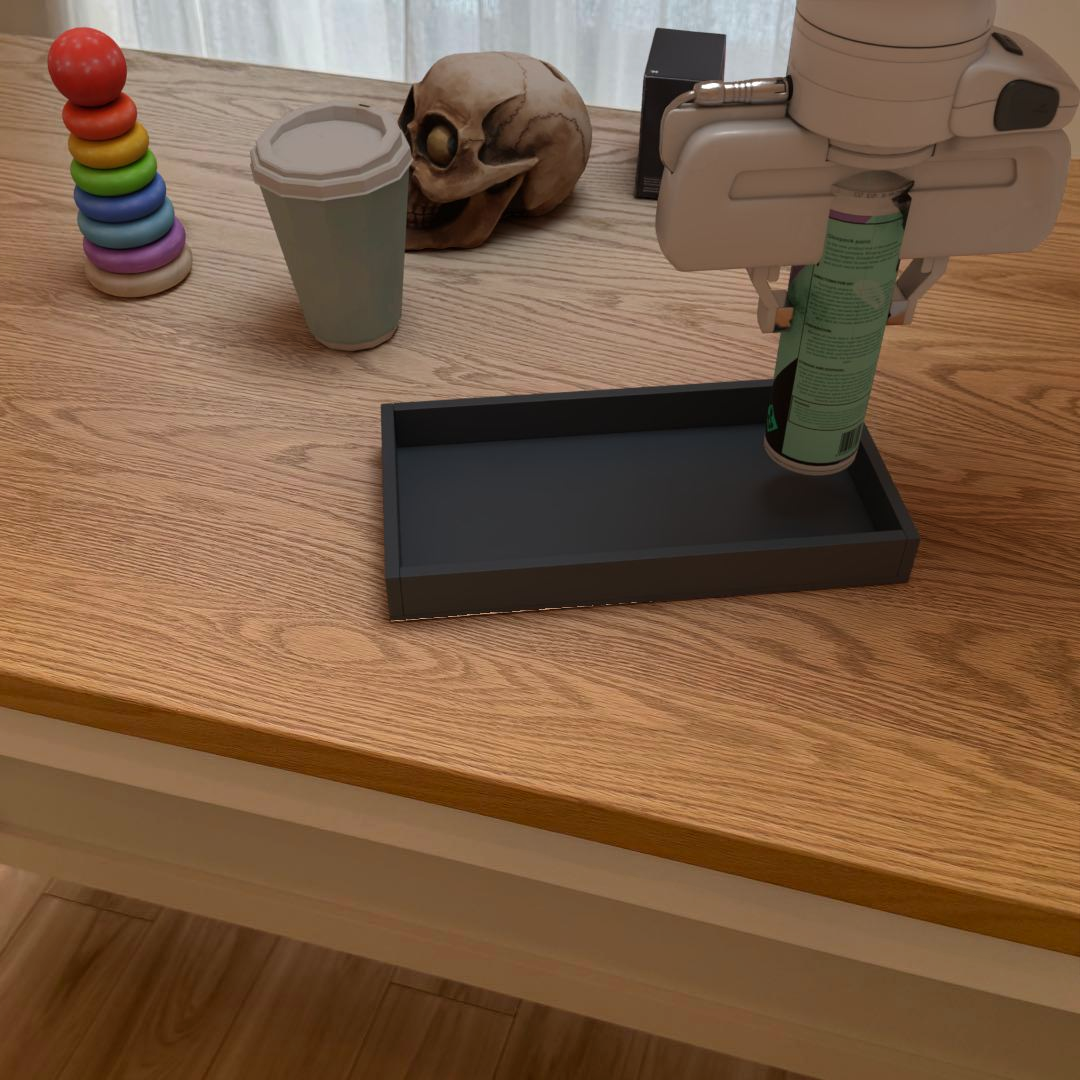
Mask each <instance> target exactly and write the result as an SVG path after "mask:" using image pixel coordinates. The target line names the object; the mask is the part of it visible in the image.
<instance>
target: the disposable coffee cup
mask: <svg viewBox="0 0 1080 1080" xmlns="http://www.w3.org/2000/svg"><path fill="white" fill-rule="evenodd" d="M397 121H398V120H397V119H396V116H395V114H394V113H393V112H392V111H389V110H387V109H384V108H382V107H380V106H377V105H375V104H371V103H368V102H367V103H366V102H363V101H362V102H361V101H351V100H339V99H338V100H337V99H334V100H329V101H324V102H319V103H314V104H309V105H306V106H301V107H298V108H296V109H294V110H292V111H290V112H288V113H287V114H284V115H283V116H280V117H279V118H276V119H275V120H273V121H271V122H270V123H269V124H268V125H267V127H266V128H265V129H264V131H263V132H262V133H261V134H260V135H259V137H258V138H257V139H256V141H255V145H254V146H253V147H252V148H251V150H250V151H249V155H250V164H249V166H250V170H251V174H252V178H253V182H254V184H256V185H257V186H258V187H259V189H260V191H261V194H262V197H263V200H264V204H265V206H266V208H267V211H268V214H269V217H270V221H271V223H272V226H273V229H274V232H275V235H276V238H277V240H278V243H279V246H280V249H281V252H282V255H283V258H284V260H285V263H286V266H287V269H288V272H289V275H290V278H291V281H292V284H293V287H294V290H295V293H296V295H297V298H298V299H297V300H298V301H299V304H300V307H301V310H302V313H303V316H304V319H305V321H306V324H307V328H308V330H309V333H311V334H312V335H313V337H314V339H315V341H317V342H318V343H320V344H322V345H323V346H324V347H327V348H328V349H331V350H338V351H346V352H355V351H361V350H366V349H372V348H375V347H377V346H379V345H381V344H382V343H384V342H387V341H388V340H390V339H391V338H392V337H393V335H394V334H395V332H396V330H397V329H398V327H399V321H400V320H401V318H402V315H403V314H402V313H403V311H402V310H403V295H404V294H403V292H404V278H405V277H404V275H405V258H406V257H405V256H406V255H405V254H406V250H405V238H406V219H407V199H408V180H409V166H410V164H411V163H412V162H413V158H412V155H411V150H410V146H409V144H408V142H407V140H406V138H405V136H404V134H403V132H402V130H401V129H400V128H399V126H398V123H397Z"/></svg>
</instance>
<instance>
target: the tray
mask: <svg viewBox="0 0 1080 1080" xmlns="http://www.w3.org/2000/svg"><path fill="white" fill-rule="evenodd" d="M772 384H773V378H762V379H761V378H760V379H747V380H745V379H744V380H731V381H729V380H728V381H715V382H702V383H701V382H700V383H699V382H698V383H683V384H682V383H681V384H669V385H653V386H638V387H637V386H636V387H621V388H606V389H605V388H604V389H592V390H591V389H589V390H575V391H574V390H573V391H560V392H559V391H557V392H544V393H543V392H542V393H541V392H540V393H528V394H526V393H525V394H512V395H498V396H496V395H495V396H482V397H469V398H468V397H467V398H449V399H435V400H434V399H433V400H432V399H431V400H421V401H420V400H419V401H418V400H417V401H402V402H388V403H380V434H381V435H380V437H381V438H380V439H381V474H382V476H381V477H382V478H381V479H382V480H381V481H382V506H383V507H382V513H383V514H382V515H383V551H384V552H383V554H384V556H383V557H384V558H383V559H384V581H385V591H386V598H387V607H388V615H389V622H390V621H391V620H406V619H419V618H434V617H448V616H457V615H467V614H480V613H490V612H512V611H520V610H539V609H545V608H562V607H577V606H592V605H593V606H598V607H602V606H601V605H606V604H612V605H611V606H615V605H614V604H619V603H631V602H637V603H636V604H640V603H639V602H649V603H658V602H657V601H662V602H669V601H668V600H671V601H672V602H673V601H685V599H687V600H696V599H695V598H700V599H706V598H705V597H710V598H709V599H712V598H711V597H713V598H722V597H721V596H726V597H736V596H735V595H739V596H748V595H749V594H751V595H762V594H763V595H764V594H775V593H776V592H777V593H789V592H801V590H803V591H813V590H814V589H815V590H826V589H827V590H829V589H840V588H855V587H865V586H878V585H879V586H880V585H890V584H902V583H903V584H904V583H909V581H910V577H911V574H912V570H913V567H914V563H915V560H916V557H917V555H918V554H917V553H918V550H919V546H920V543H921V540H922V537H921V535H920V533H919V531H918V529H917V527H916V525H915V523H914V520H913V519H912V517H911V514H910V512H909V510H908V509H907V506H906V504H905V503H904V500H903V498H902V497H901V494H900V492H899V489H898V488H897V486H896V484H895V482H894V480H893V477H892V475H891V474H890V472H889V470H888V468H887V465H886V464H885V461H884V459H883V457H882V455H881V453H880V451H879V449H878V447H877V445H876V443H875V440H874V439H873V437H872V435H871V432H870V430H869V429H868V427H867V424H866V422H865V421H864V424H863V429H862V433H861V437H860V442H859V446H858V450H857V453H856V456H855V459H854V461H853V462H852V464H851V465H850V466H848V467H847V468H846V469H844V470H842V471H840V472H837V473H834V474H829V475H805V474H801V473H796V472H793V471H791V470H788V469H786V468H784V467H782V466H780V465H779V464H777V463H776V462H775V461H773V459H772V458H771V457H770V456H769V455H768V453H767V452H766V450H765V446H764V436H765V428H766V421H767V415H768V409H769V403H770V396H771V390H772ZM715 596H716V597H715ZM679 599H680V600H679ZM650 601H652V602H650ZM671 601H670V602H671Z"/></svg>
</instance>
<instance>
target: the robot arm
mask: <svg viewBox="0 0 1080 1080" xmlns="http://www.w3.org/2000/svg"><path fill="white" fill-rule="evenodd" d="M996 14H997V0H795V10H794V15H793V22H792V30H791V38H790V46H789V51H788V59H787V66H786V73H785V76H777V77H761V78H760V77H759V78H758V77H757V78H750V79H744V80H738V81H724V82H723V81H720V80H710V81H703V82H699V83H696V84H695V85H694V88H693V90H692V91H688V92H686V93H683V94H681V95H680V96H678V97H677V98H675V99H674V100H673V101H672V102H671V103H670V104H669V105H668V106H667V107H666V109H665V111H664V113H663V116H662V120H661V126H660V140H659V154H660V158H661V161H662V163H663V164H664V166H665V167H664V171H663V176H662V180H661V185H660V191H659V196H658V198H657V203H656V210H655V218H654V219H655V221H654V230H655V236H656V240H657V243H658V245H659V249H660V251H661V253H662V255H663V256H664V258H665V259H666V260H667V261H668V263H669V264H671V266H672V267H673V268H674V269H675V270H677V271H678V272H681V273H682V272H683V273H689V272H690V273H691V272H692V273H693V272H707V271H722V270H723V271H724V270H726V271H727V270H741V269H745V270H746V272H747V275H748V277H749V279H750V282H751V284H752V286H753V288H754V289H755V291H756V294H757V295H758V301H757V302H758V303H757V309H756V319H757V324H758V326H759V329H760V331H761V333H762V334H779V333H780V334H781V332H790V330H791V323H790V320H791V319H792V318H793V313H794V305H793V304H792V302H791V301H790V300H789V299H788V293H787V289H772V288H771V285H770V284H769V283H775V282H777V281H779V277H780V272H781V267H791V266H796V265H814V264H817V263H818V262H819V261H820V258H821V256H822V254H823V248H824V242H825V236H826V230H827V224H828V218H829V212H830V206H831V202H832V201H833V200H834V199H835V198H836V197H837V196H836V195H833V194H832V191H831V190H830V187H831V185H832V184H833V185H835V186H836V185H837V184H839V183H840V182H841V181H843V180H845V179H847V178H849V177H851V176H853V175H856V174H859V173H862V172H866V171H871V170H885V171H890V172H893V173H896V174H898V175H900V176H902V177H904V178H906V179H907V180H908V181H909V182H910V183H911V182H912V181H915V182H914V186H913V187H912V189H910V191H909V192H908V194H909V195H910V196H911V198H912V200H911V205H910V209H909V214H908V218H907V222H906V227H905V231H904V236H903V240H902V244H901V249H900V255H899V260H911V262H909V264H908V265H907V267H906V268H905V269H904V271H903V272H902V274H901V275H899V276H898V277H897V279H896V283H895V287H894V292H893V296H892V300H891V305H890V309H889V314H888V318H887V323H886V327H889V326H908V325H911V324H912V323H913V321H914V316H915V312H916V308H917V305H918V300H921V299H922V298H923V297H924V296H925V294H927V293H928V292H929V291H930V289H931V288H932V287H933V286H934V285H935V284H936V283H937V282H938V281H939V280H940V279H941V278H942V277H943V276H944V275H945V273H946V272H947V269H948V265H949V260H950V258H951V257H952V258H953V257H969V256H970V257H971V256H986V255H987V256H989V255H1004V254H1005V255H1007V254H1024V253H1031V252H1032V251H1034V250H1035V249H1037V248H1038V247H1039V246H1040V245H1041V244H1042V243H1043V242H1044V241H1045V240H1046V239H1047V238H1049V237H1050V235H1052V233H1053V231H1054V229H1055V226H1056V223H1057V221H1058V217H1059V214H1060V210H1061V207H1062V203H1063V200H1064V196H1065V191H1066V188H1067V184H1068V183H1067V182H1068V179H1069V172H1070V167H1071V161H1072V160H1071V159H1072V145H1071V141H1070V138H1069V135H1068V134H1067V133H1066V131H1065V130H1064V129H1063V128H1066V127H1067V126H1068V125H1069V124H1071V122H1072V121H1073V120H1074V118H1075V116H1076V113H1077V111H1078V109H1079V104H1080V88H1079V87H1078V86H1077V84H1076V82H1075V81H1074V80H1073V79H1072V77H1071V76H1070V75H1069V73H1068V72H1067V71H1066V69H1064V68H1063V66H1062V65H1060V64H1059V63H1058V62H1057V61H1056V60H1055V59H1054V58H1053V57H1052V56H1051V55H1050V54H1049V53H1047V52H1046V51H1045V50H1044V49H1043V48H1042V47H1040V46H1039V45H1038V44H1037V43H1035V42H1034V41H1032V40H1031V39H1029V38H1028V37H1027V36H1025V35H1024V34H1021V33H1018V32H1015V31H1013V30H1009V29H1005V28H1002V27H999V26H996V25H994V23H995V19H996ZM692 99H693V101H694V103H685V102H687V101H689V100H692ZM683 103H684V104H683Z"/></svg>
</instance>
